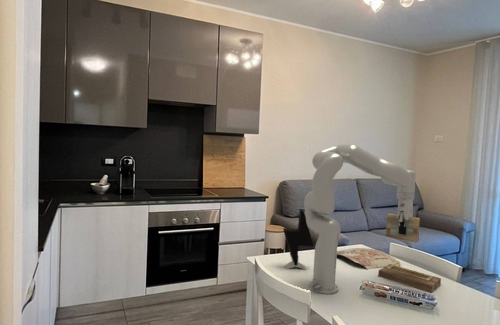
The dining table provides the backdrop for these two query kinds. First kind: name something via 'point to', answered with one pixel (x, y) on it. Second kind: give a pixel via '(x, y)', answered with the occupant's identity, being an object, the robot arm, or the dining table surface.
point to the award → (297, 240)
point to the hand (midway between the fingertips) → (403, 233)
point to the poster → (369, 257)
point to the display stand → (410, 278)
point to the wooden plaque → (411, 228)
